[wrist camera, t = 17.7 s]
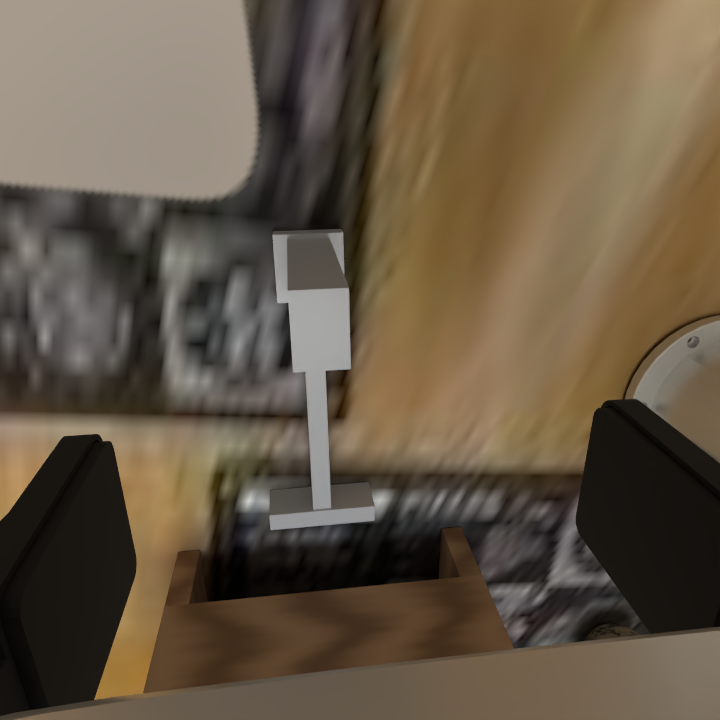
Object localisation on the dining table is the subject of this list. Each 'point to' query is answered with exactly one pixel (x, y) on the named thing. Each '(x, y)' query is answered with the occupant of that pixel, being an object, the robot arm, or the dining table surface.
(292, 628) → the wooden bridge block
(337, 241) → the grey parking meter
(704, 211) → the dining table surface
